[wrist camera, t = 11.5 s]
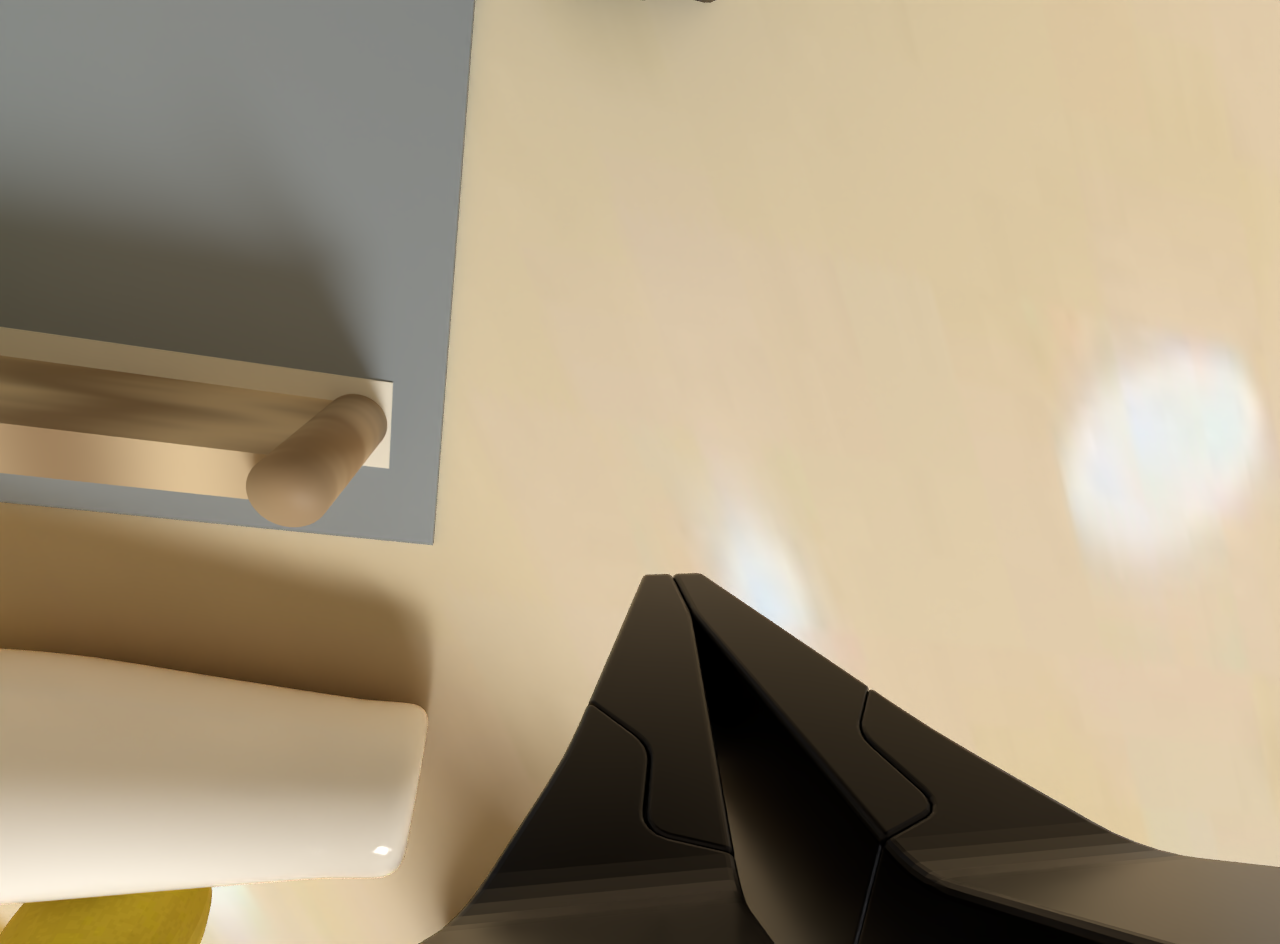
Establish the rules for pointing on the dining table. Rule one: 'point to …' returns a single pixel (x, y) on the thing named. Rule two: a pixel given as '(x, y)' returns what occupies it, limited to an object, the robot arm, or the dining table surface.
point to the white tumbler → (193, 780)
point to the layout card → (240, 219)
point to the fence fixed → (184, 436)
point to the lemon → (113, 919)
